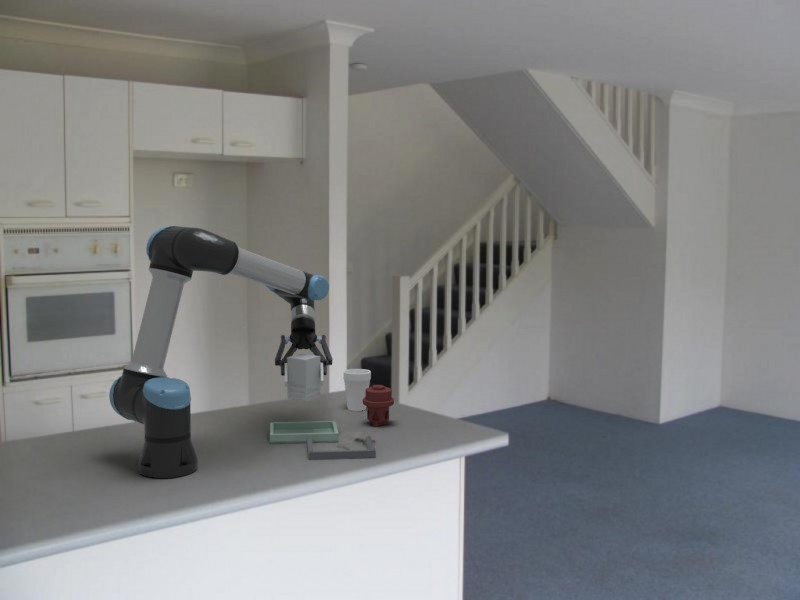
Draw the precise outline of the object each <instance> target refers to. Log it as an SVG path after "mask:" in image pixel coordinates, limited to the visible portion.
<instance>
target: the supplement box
mask: <svg viewBox="0 0 800 600" xmlns="http://www.w3.org/2000/svg"><path fill="white" fill-rule="evenodd" d="M286 387H287V388H286V390H287V399H290V400H296V401H302V402H309V401H313V400H315V399H319V398H321V390H322V389H321V379H320V356H315V355H314V354H308V353H307V354H306V353H299V354H295V355H292V356H291V357H287V386H286Z"/></svg>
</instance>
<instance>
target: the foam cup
mask: <svg viewBox="0 0 800 600" xmlns="http://www.w3.org/2000/svg"><path fill="white" fill-rule="evenodd" d="M343 380H344V381H343V382H344V389H345V390H344V391H345V398H346V399H345V400H346V404H347V405H346V406H347V410H348V411H352V412H361V411H362V410H363V411H367V406H365V405H364V404H363V398H364V397H365V389H367V388H369V387H370V384H371V380H372V372H371V370H370V369H363V368H350V369H349V368H348V369H345V370H343Z"/></svg>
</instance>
